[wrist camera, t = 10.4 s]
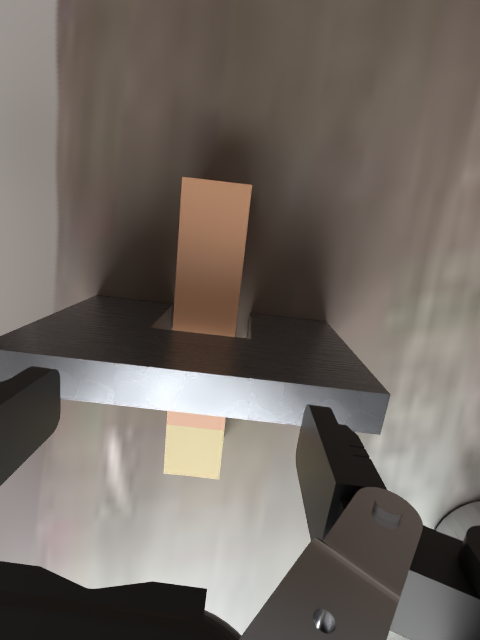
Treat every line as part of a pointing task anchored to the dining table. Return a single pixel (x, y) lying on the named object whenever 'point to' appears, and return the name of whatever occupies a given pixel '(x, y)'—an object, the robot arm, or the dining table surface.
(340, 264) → the dining table surface
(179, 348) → the plate
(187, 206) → the plug
